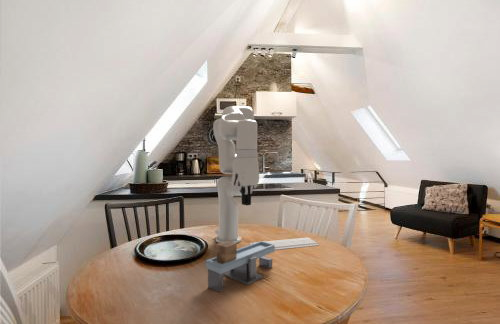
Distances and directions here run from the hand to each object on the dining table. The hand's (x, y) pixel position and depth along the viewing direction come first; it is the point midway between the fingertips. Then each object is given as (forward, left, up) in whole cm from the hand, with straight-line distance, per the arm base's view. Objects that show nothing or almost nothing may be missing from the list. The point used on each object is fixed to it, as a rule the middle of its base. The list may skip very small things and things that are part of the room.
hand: (246, 204), depth 114 cm
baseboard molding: (-7, +35, -26) cm, 44 cm away
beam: (+2, -3, -18) cm, 19 cm away
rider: (+2, -12, -17) cm, 21 cm away
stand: (+2, -3, -25) cm, 25 cm away
